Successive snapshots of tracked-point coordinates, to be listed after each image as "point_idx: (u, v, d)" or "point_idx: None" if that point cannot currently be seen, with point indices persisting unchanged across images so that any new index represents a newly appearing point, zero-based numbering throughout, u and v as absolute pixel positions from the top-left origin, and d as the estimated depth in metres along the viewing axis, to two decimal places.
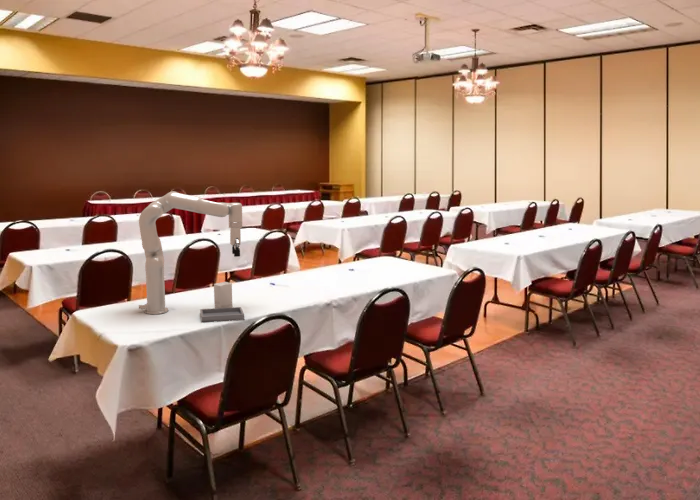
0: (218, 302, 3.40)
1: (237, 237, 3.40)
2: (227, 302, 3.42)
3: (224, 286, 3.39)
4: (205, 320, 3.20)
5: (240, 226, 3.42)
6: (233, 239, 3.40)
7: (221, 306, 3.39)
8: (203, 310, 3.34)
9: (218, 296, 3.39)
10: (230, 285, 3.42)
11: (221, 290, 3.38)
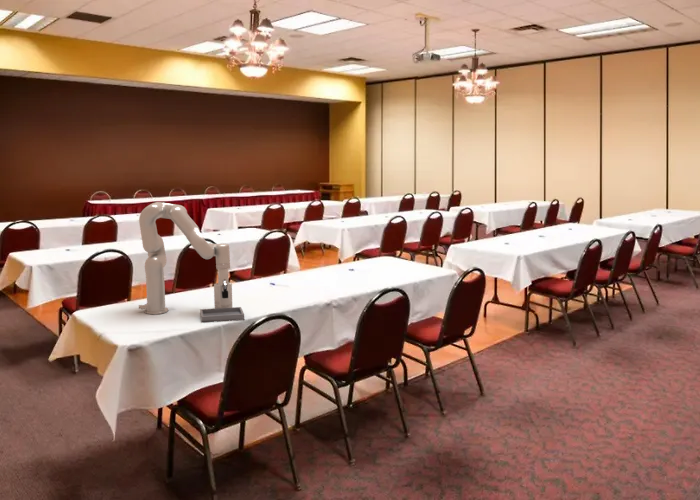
0: (218, 303, 3.40)
1: (225, 279, 3.37)
2: (227, 302, 3.42)
3: None
4: (205, 320, 3.20)
5: (228, 267, 3.38)
6: (221, 281, 3.36)
7: (221, 306, 3.39)
8: (203, 310, 3.34)
9: (218, 296, 3.39)
10: (230, 285, 3.41)
11: (221, 290, 3.38)
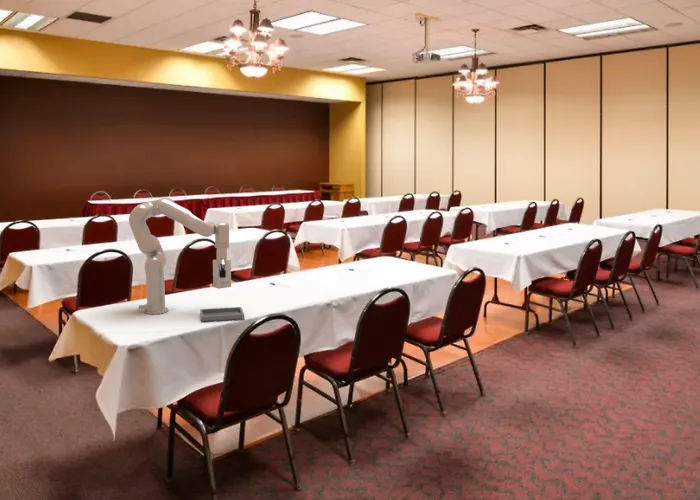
0: (216, 279, 3.38)
1: (223, 257, 3.35)
2: (226, 279, 3.39)
3: None
4: (205, 320, 3.20)
5: (226, 246, 3.36)
6: (219, 259, 3.34)
7: (219, 282, 3.37)
8: (203, 310, 3.34)
9: (216, 272, 3.37)
10: (229, 261, 3.39)
11: (219, 265, 3.36)
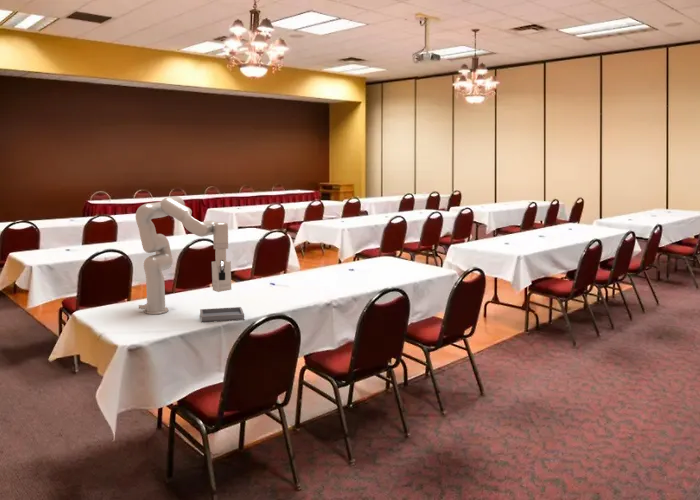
0: (216, 281, 3.21)
1: (222, 259, 3.18)
2: (226, 281, 3.22)
3: None
4: (205, 320, 3.20)
5: (226, 247, 3.19)
6: (218, 261, 3.17)
7: (219, 285, 3.20)
8: (203, 310, 3.34)
9: (216, 274, 3.20)
10: (229, 263, 3.22)
11: None
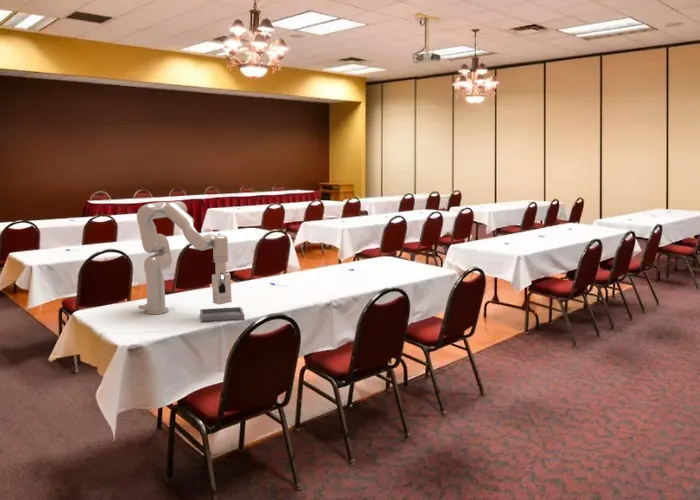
0: (216, 294, 3.25)
1: (222, 272, 3.22)
2: (226, 294, 3.26)
3: None
4: (205, 320, 3.20)
5: (225, 260, 3.23)
6: (218, 274, 3.21)
7: (219, 298, 3.24)
8: (203, 310, 3.34)
9: (216, 287, 3.24)
10: (229, 276, 3.26)
11: None
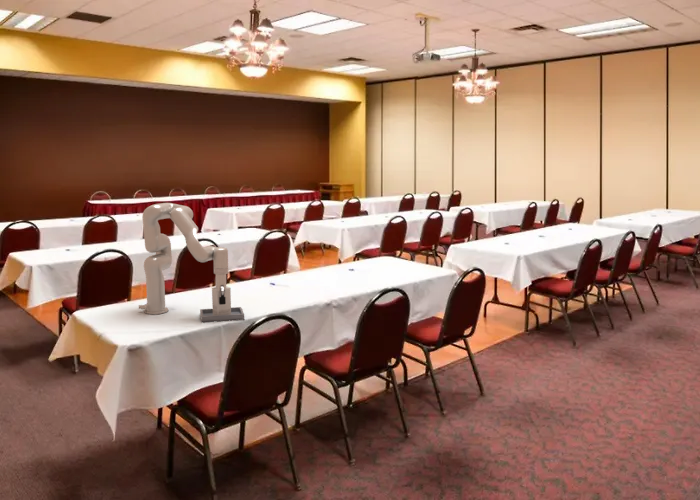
0: (216, 307, 3.26)
1: (222, 284, 3.23)
2: (225, 307, 3.27)
3: None
4: (205, 320, 3.20)
5: (226, 272, 3.24)
6: (218, 286, 3.22)
7: (219, 311, 3.25)
8: (203, 310, 3.34)
9: (216, 301, 3.25)
10: (228, 289, 3.27)
11: (218, 294, 3.24)
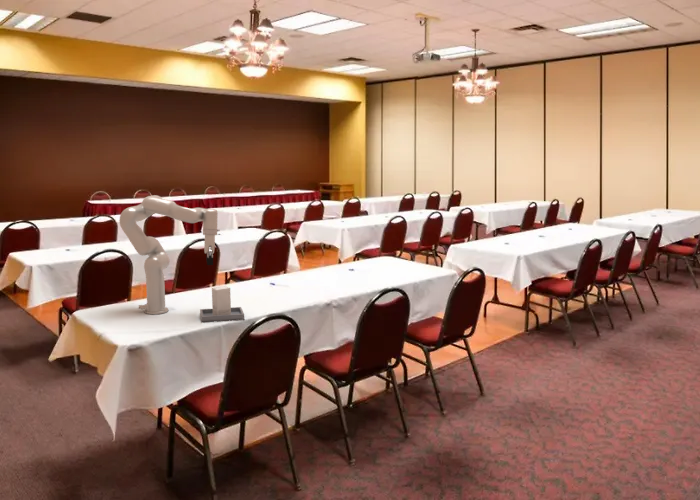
0: (215, 307, 3.26)
1: (210, 245, 3.26)
2: (225, 307, 3.27)
3: (221, 290, 3.24)
4: (205, 320, 3.20)
5: (214, 233, 3.28)
6: (206, 247, 3.26)
7: (218, 311, 3.25)
8: (203, 310, 3.34)
9: (215, 301, 3.25)
10: (228, 289, 3.27)
11: (218, 294, 3.23)
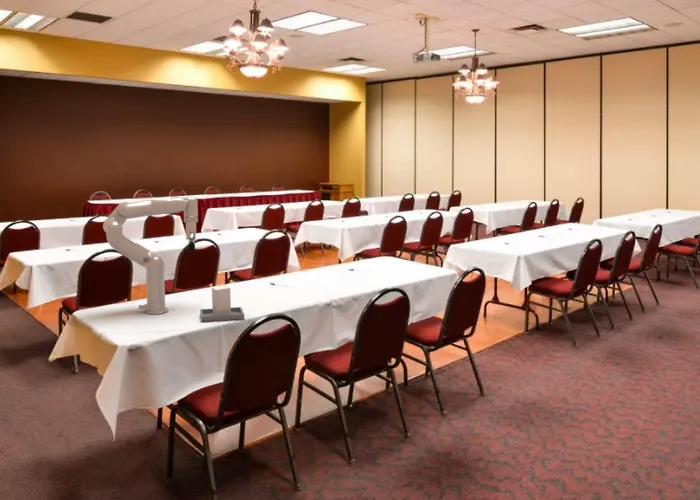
0: (215, 307, 3.26)
1: (192, 231, 3.39)
2: (225, 307, 3.27)
3: (221, 290, 3.24)
4: (205, 320, 3.20)
5: (195, 220, 3.40)
6: (188, 233, 3.38)
7: (218, 311, 3.25)
8: (203, 310, 3.34)
9: (215, 301, 3.25)
10: (228, 289, 3.27)
11: (218, 294, 3.23)
